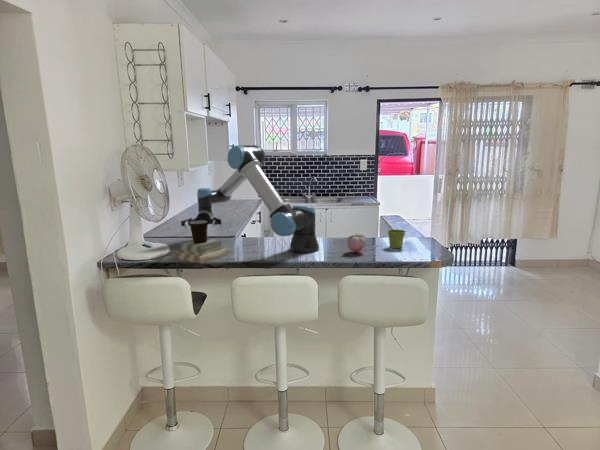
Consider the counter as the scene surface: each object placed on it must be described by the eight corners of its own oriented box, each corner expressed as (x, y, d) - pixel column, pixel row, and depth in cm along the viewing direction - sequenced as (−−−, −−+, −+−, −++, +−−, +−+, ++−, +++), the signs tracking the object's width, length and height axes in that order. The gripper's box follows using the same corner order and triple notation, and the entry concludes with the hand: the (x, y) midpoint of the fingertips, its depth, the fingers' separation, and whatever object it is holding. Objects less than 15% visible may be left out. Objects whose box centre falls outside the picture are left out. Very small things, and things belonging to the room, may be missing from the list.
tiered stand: (227, 254, 197) (226, 240, 195) (201, 263, 182) (200, 248, 180) (202, 250, 206) (201, 236, 205) (175, 258, 191) (173, 243, 190)
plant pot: (391, 244, 212) (391, 228, 210) (407, 246, 206) (408, 230, 205) (383, 247, 204) (384, 231, 203) (401, 250, 199) (401, 233, 197)
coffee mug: (197, 239, 198) (195, 220, 196) (212, 240, 195) (210, 220, 193) (184, 245, 187) (182, 224, 185) (200, 246, 184) (198, 225, 182)
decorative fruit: (360, 249, 201) (360, 230, 199) (368, 253, 194) (368, 233, 192) (343, 251, 198) (343, 232, 196) (351, 255, 191) (351, 235, 189)
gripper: (227, 224, 217) (225, 231, 197) (181, 226, 214) (174, 234, 193) (226, 210, 216) (224, 217, 195) (180, 212, 212) (173, 219, 192)
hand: (199, 225), depth 194 cm, fingers open, 13 cm apart
